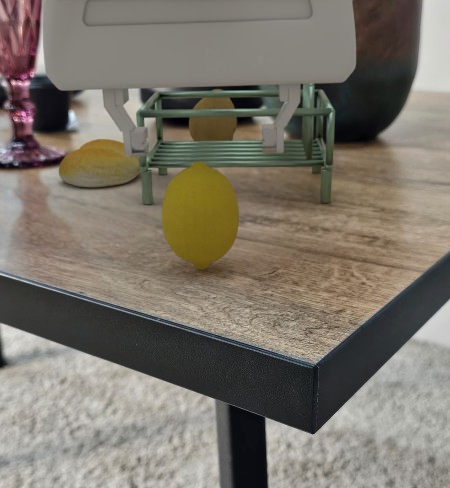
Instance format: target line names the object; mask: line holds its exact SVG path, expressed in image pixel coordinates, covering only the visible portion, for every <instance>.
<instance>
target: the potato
mask: <svg viewBox="0 0 450 488" xmlns="http://www.w3.org/2000/svg"><path fill="white" fill-rule="evenodd" d="M211 91H224V89H221V88H215V89H214V88H213V89H212V90H211ZM192 109H236V108H235V105H234V103H233V102H232V100H231V97H230V98H201V99H200V100H199V101H197V103H196V104H195V106H194V107H193V108H192ZM237 126H238V117H189V120H188V131H189V135H190V137H191V139H192V141H234V135H235V133H236V130H237Z"/></svg>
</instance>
